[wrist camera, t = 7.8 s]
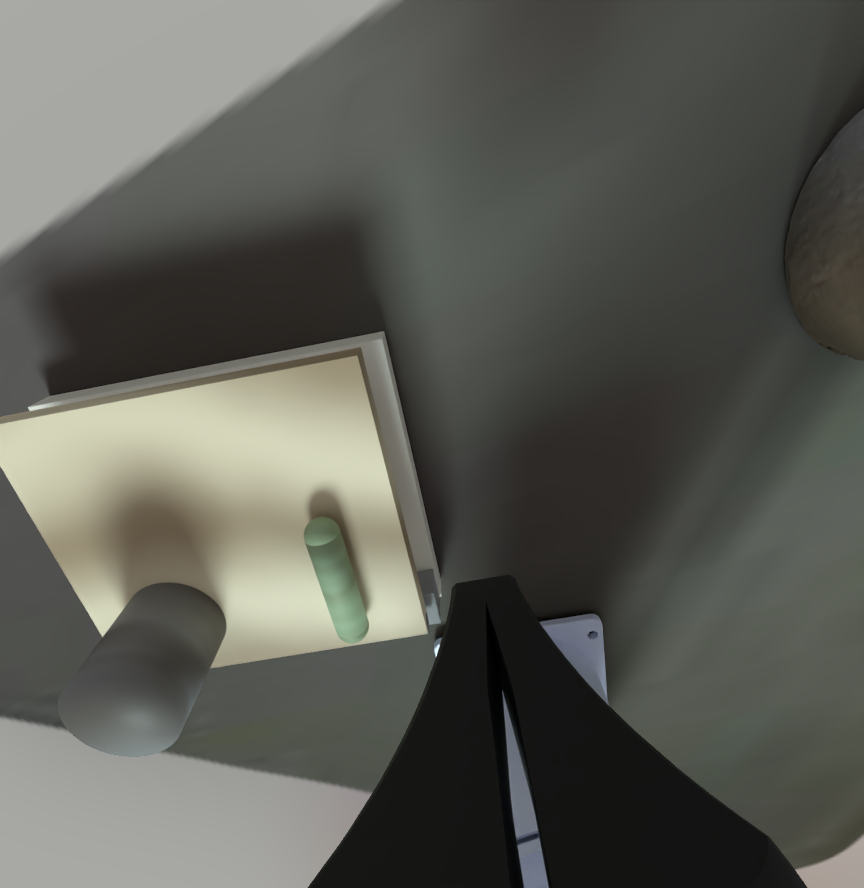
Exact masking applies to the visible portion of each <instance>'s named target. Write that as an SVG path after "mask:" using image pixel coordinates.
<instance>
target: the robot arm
mask: <svg viewBox="0 0 864 888" xmlns="http://www.w3.org/2000/svg"><path fill="white" fill-rule="evenodd" d="M591 631H594V632H592V633H589V632H591ZM434 652H435V656H436V659H435V662H434V665H433V668H432V671H431V673H430V676H429V679H428V681H427V684H426V687H425V689H424V692H423V695H422V697H421V699H420V702H419V704H418V707H417V709H416V711H415V713H414V716H413V718H412V720H411V722H410V724H409V726H408V729H407V731H406V733H405V735H404V737H403V739H402V741H401V743H400V745H399V747H398V748H397V750H396V752H395V754H394V756H393V758H392V760H391V762H390V764H389V766H388V767H387V769H386V771H385V773H384V775H383V776H382V778H381V780H380V782H379V783H378V785H377V787H376V788H375V790H374V792H373V793H372V795H371V796H370V798H369V800H368V801H367V803H366V804H365V806H364V808H363V809H362V811H361V812H360V814H359V815H358V817H357V818H356V820H355V822H354V823H353V825H352V826H351V828H350V829H349V831H348V833H347V834H346V835H345V837H344V838H343V840H342V841H341V843H340V844H339V846H338V847H337V849H336V850H335V851H334V853H333V854H332V855H331V857H330V858H329V859H328V861H327V862H326V863H325V865H324V866H323V867H322V869H321V870H320V872H319V873H318V874H317V876H316V877H315V879H314V880H313V881H312V883H311V884H310V885H309V887H308V888H807V886H806V885H805V884H804V882H803V881H802V879H801V878H800V877H799V875H798V874H797V872H796V871H795V869H794V868H793V867H792V865H791V864H790V863H789V861H788V860H787V859H786V858H785V856H784V855H783V854H782V852H781V851H780V850H779V848H778V847H777V846H776V845H775V843H774V842H773V841H772V840H771V838H770V837H768V836H767V835H766V834H764V833H763V832H762V831H760V830H759V829H757V828H756V827H755V826H753V825H752V824H750V823H749V822H747V821H746V820H745V819H743V818H742V817H740V816H739V815H738V814H736V813H735V812H734V811H732V810H731V809H730V808H728V807H727V806H726V805H724V804H723V803H721V802H720V801H719V800H717V799H716V798H715V797H713V796H712V795H711V794H709V793H708V792H707V791H706V790H704V789H703V788H702V787H701V786H699V785H698V784H697V783H696V782H694V781H693V780H692V779H691V778H689V777H688V776H687V775H686V774H684V773H683V772H682V771H680V770H679V769H678V768H677V767H676V766H675V765H673V764H672V763H671V762H670V761H669V760H668V759H666V758H665V757H664V756H663V755H662V754H661V753H660V752H658V751H657V750H656V749H655V748H654V747H653V746H652V745H650V744H649V743H648V742H647V741H646V740H645V739H644V738H642V737H641V736H640V735H639V734H638V733H637V732H636V731H634V730H633V729H632V728H631V727H630V726H629V725H628V724H627V723H626V722H625V721H624V720H623V719H622V718H621V717H620V716H619V715H618V714H617V713H616V712H615V711H614V710H613V709H612V708H611V707H610V706H609V703H608V700H607V685H606V670H605V656H604V641H603V626H602V622H601V620H600V618H599V617H598V616H597V615H595V614H586V615H579V616H573V617H567V618H560V619H554V620H548V621H541V622H539V621H538V619H537V618H536V616H535V615H534V613H533V612H532V610H531V609H530V607H529V605H528V604H527V602H526V600H525V599H524V597H523V595H522V593H521V591H520V589H519V587H518V585H517V583H516V580H515V578H513V577H512V576H510V575H505V576H499V577H493V578H487V579H481V580H475V581H469V582H463V583H457V584H455V585H454V586H453V588H452V593H451V601H450V607H449V612H448V617H447V621H446V625H445V629H444V633H443V636H442V637H441V638H439V639H437V640H436V641H435V643H434Z"/></svg>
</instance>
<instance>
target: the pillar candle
mask: <svg viewBox="0 0 864 888" xmlns="http://www.w3.org/2000/svg"><path fill="white" fill-rule="evenodd" d="M789 229H790V230H789V232H788V234H787V236H788V237H787V242H786V247H785V251H786V252H785V257H784V258H785V259H784V260H785V266H786V270H785V273H786V275H785V277H786V283H787V286H788V290H789V294H790V298H791V302H792V306H793V308H794V311H795V314H796V316H797V318H798V319H799V322H800V324H801V325H802V326H803V327H804V329H805V330H806V332H807V333H808V334H809V335H810V337H812V338H813V339H814V340H816V341H818V342H819V344H820V345H821V346H824V347H826V348H827V349H829V350H831V351H833V352H835V353H837V354H840V355H846V354H848V356H849V357H852V358H854V359H857V360H863V361H864V108H863V109H862V110H861V111H860V112H858V113H857V114H856V115H855V116H854V117H853V118H852V119H851V120H850V121H849V122H848V123H847V124H846V125H845V126H843V127H842V129H841V130H840V131H839V132H838V133H837V135H836V136H835V137H834V138H833V140H832V141H831V143H830V144H829V146H828V147H827V148H826V150H825V151H824V152H823V155H822V156H821V157H820V158H819V159H818V161H817V162H816V164H815V165H814V167H813V168H812V170H811V171H810V173H809V175H808V177H807V179H806V181H805V183H804V185H803V187H802V189H801V192H800V195H799V197H798V200H797V203H796V205H795V208H794V211H793V214H792V217H791V220H790V226H789Z"/></svg>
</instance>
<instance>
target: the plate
mask: <svg viewBox="0 0 864 888" xmlns="http://www.w3.org/2000/svg"><path fill="white" fill-rule="evenodd" d="M0 466H1V468H2V470H3V471H4V473H5V475H6V476H7V478H8V480H9V481H10V483H11V485H12V486H13V488H14V490H15V491H16V493H17V495H18V496H19V498H20V500H21V501H22V503H23V505H24V506H25V508H26V510H27V511H28V513H29V515H30V516H31V518H32V520H33V521H34V523H35V525H36V526H37V528H38V530H39V531H40V533H41V535H42V536H43V538H44V540H45V541H46V543H47V545H48V547H49V548H50V550H51V552H52V553H53V555H54V557H55V558H56V560H57V562H58V563H59V565H60V567H61V568H62V570H63V572H64V573H65V575H66V577H67V578H68V580H69V582H70V583H71V585H72V587H73V588H74V590H75V592H76V593H77V595H78V597H79V598H80V600H81V602H82V603H83V605H84V607H85V608H86V610H87V612H88V613H89V615H90V617H91V618H92V620H93V622H94V623H95V625H96V627H97V629H98V630H99V632H100V634H101V635H102V639H101V640H100V641H99V643H98V644H97V646H96V647H95V648H94V650H93V651H92V652H91V654H90V655H89V656H88V658H87V659H86V660H85V662H84V663H83V665H82V666H81V667H80V669H79V670H78V671H77V673H76V674H75V675H74V677H73V678H72V679H71V681H70V682H69V683H68V685H67V686H66V688H65V689H64V690H63V692H62V693H61V695H60V698H59V701H58V712H59V716H60V718H61V720H62V722H63V724H64V725H65V727H66V728H67V729H68V730H69V732H71V733H72V734H73V735H74V736H75V737H76V738H77V739H79V740H80V741H82V742H83V743H85V744H86V745H88V746H90V747H93V748H95V749H97V750H99V751H102V752H106V753H109V754H114V755H119V756H129V757H131V756H132V757H135V756H136V757H138V756H147V755H152V754H155V753H158V752H161V751H163V750H165V749H167V748H168V747H170V746H171V745H172V744H173V743H174V742H175V741H176V740H177V739H178V737H179V735H180V733H181V731H182V729H183V727H184V724H185V722H186V720H187V718H188V716H189V713H190V711H191V709H192V707H193V705H194V703H195V700H196V698H197V696H198V694H199V692H200V689H201V687H202V685H203V683H204V681H205V678H206V676H207V674H208V672H209V670H210V668H215V667H221V666H227V665H233V664H240V663H246V662H252V661H259V660H265V659H271V658H278V657H284V656H290V655H297V654H303V653H309V652H315V651H322V650H328V649H334V648H341V647H347V646H353V645H360V644H366V643H372V642H378V641H385V640H391V639H397V638H404V637H410V636H416V635H423V634H428V633H429V632H430V628H429V620H428V615H427V611H426V607H425V603H424V599H423V595H422V591H421V587H420V583H419V579H418V574H417V570H416V566H415V562H414V558H413V554H412V550H411V546H410V542H409V538H408V534H407V530H406V526H405V522H404V518H403V514H402V510H401V506H400V502H399V498H398V494H397V490H396V486H395V482H394V478H393V474H392V470H391V466H390V462H389V458H388V454H387V450H386V446H385V442H384V438H383V434H382V430H381V426H380V422H379V418H378V414H377V410H376V406H375V402H374V398H373V394H372V390H371V386H370V382H369V378H368V374H367V370H366V365H365V361H364V357H363V353H362V349H361V347H359V348H354V349H349V350H344V351H339V352H333V353H328V354H323V355H318V356H313V357H307V358H302V359H297V360H292V361H287V362H282V363H276V364H271V365H266V366H261V367H256V368H250V369H245V370H240V371H235V372H230V373H225V374H219V375H214V376H209V377H204V378H199V379H193V380H188V381H183V382H178V383H173V384H167V385H162V386H157V387H152V388H147V389H142V390H136V391H131V392H126V393H121V394H116V395H110V396H105V397H100V398H95V399H90V400H85V401H79V402H74V403H69V404H64V405H59V406H53V407H48V408H43V409H38V410H33V411H28V412H22V413H17V414H12V415H7V416H2V417H0Z"/></svg>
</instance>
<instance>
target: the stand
mask: <svg viewBox="0 0 864 888" xmlns="http://www.w3.org/2000/svg"><path fill="white" fill-rule="evenodd" d="M359 347H361V349H362V353H363V357H364V361H365V365H366V370H367V374H368V378H369V382H370V386H371V390H372V394H373V398H374V402H375V406H376V410H377V414H378V418H379V422H380V426H381V430H382V434H383V438H384V442H385V446H386V450H387V454H388V458H389V462H390V466H391V470H392V474H393V478H394V482H395V486H396V490H397V494H398V498H399V502H400V506H401V510H402V514H403V518H404V522H405V526H406V530H407V534H408V538H409V542H410V546H411V550H412V554H413V558H414V562H415V566H416V570H417V574H418V579H419V583H420V587H421V591H422V595H423V599H424V603H425V607H426V611H427V615H428V620H429V625H431V624H437V623H441V618H440V598H439V597H442V595H441V578H440V574H439V569H438V565H437V561H436V556H435V552H434V548H433V543H432V539H431V534H430V530H429V526H428V521H427V517H426V512H425V508H424V504H423V499H422V495H421V490H420V486H419V482H418V477H417V473H416V468H415V464H414V460H413V455H412V451H411V446H410V442H409V438H408V433H407V429H406V424H405V420H404V416H403V411H402V407H401V403H400V398H399V394H398V389H397V385H396V381H395V376H394V372H393V367H392V363H391V359H390V354H389V350H388V345H387V341H386V337H385V332H384V331H382V332H377V333H372V334H367V335H362V336H356V337H351V338H346V339H341V340H336V341H331V342H326V343H320V344H315V345H310V346H305V347H300V348H295V349H290V350H284V351H279V352H274V353H269V354H264V355H259V356H253V357H248V358H243V359H238V360H233V361H228V362H223V363H217V364H212V365H207V366H202V367H197V368H192V369H187V370H181V371H176V372H171V373H166V374H161V375H156V376H151V377H145V378H140V379H135V380H130V381H125V382H120V383H114V384H109V385H104V386H99V387H94V388H89V389H84V390H78V391H73V392H68V393H63V394H58V395H53V396H49V397H47V398H45V399H43V400H41V401H39V402H37V403H35V404H33V405H31V406H29V407H28V409H29V411H33V410H38V409H43V408H48V407H53V406H59V405H64V404H69V403H74V402H79V401H85V400H90V399H95V398H100V397H105V396H110V395H116V394H121V393H126V392H131V391H136V390H142V389H147V388H152V387H157V386H162V385H167V384H173V383H178V382H183V381H188V380H193V379H199V378H204V377H209V376H214V375H219V374H225V373H230V372H235V371H240V370H245V369H250V368H256V367H261V366H266V365H271V364H276V363H282V362H287V361H292V360H297V359H302V358H307V357H313V356H318V355H323V354H328V353H333V352H339V351H344V350H349V349H354V348H359Z"/></svg>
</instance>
